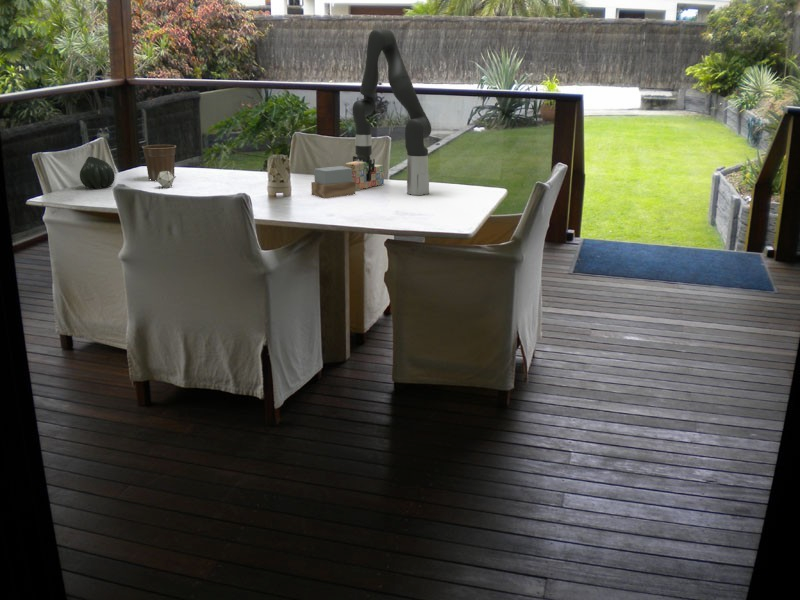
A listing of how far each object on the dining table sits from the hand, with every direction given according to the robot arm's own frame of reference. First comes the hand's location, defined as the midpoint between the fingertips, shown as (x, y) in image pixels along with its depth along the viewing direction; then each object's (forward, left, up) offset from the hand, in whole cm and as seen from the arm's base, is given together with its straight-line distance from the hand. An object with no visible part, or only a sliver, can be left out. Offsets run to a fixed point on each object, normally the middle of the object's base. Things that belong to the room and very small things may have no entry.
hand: (363, 179), depth 397 cm
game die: (+56, +73, -4) cm, 92 cm away
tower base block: (-7, +22, -4) cm, 24 cm away
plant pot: (+79, +65, -4) cm, 102 cm away
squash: (+75, +98, -4) cm, 123 cm away
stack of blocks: (0, -1, -4) cm, 4 cm away
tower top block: (-7, +22, +2) cm, 24 cm away
